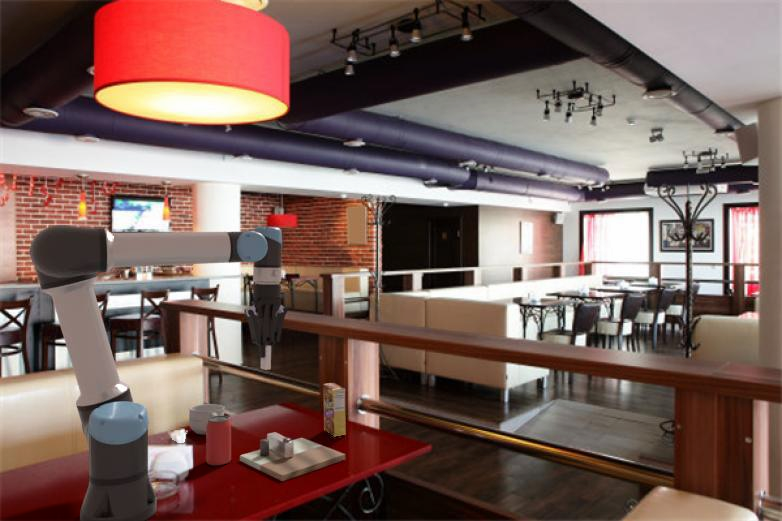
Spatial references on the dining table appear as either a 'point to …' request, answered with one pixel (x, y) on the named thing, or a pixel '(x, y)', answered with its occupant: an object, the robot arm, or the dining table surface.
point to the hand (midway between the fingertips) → (265, 368)
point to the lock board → (292, 459)
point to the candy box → (334, 409)
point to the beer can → (218, 440)
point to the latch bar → (281, 444)
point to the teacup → (203, 416)
